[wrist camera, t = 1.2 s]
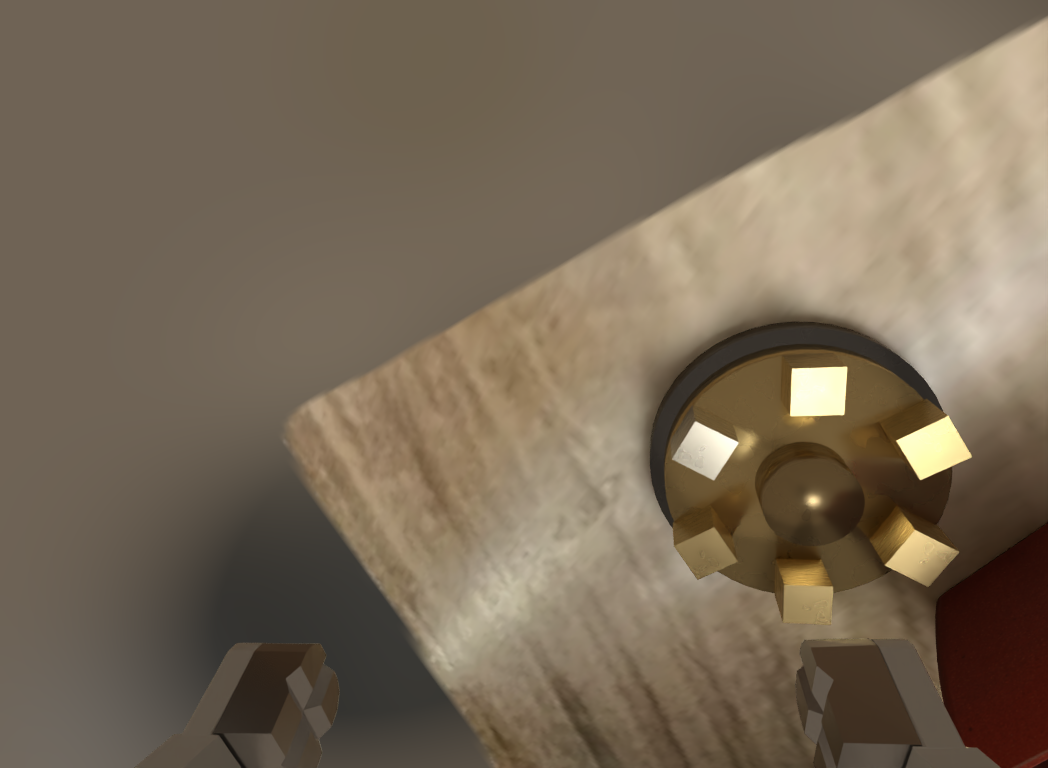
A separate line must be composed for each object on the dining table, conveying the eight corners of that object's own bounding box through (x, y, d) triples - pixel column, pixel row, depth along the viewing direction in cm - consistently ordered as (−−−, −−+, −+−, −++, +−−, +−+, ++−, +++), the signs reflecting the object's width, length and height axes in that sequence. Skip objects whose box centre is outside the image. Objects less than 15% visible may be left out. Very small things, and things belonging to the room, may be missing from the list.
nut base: (1002, 402, 42) (1021, 414, 40) (830, 609, 49) (838, 629, 47) (736, 272, 43) (741, 277, 41) (605, 496, 50) (603, 510, 48)
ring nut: (996, 419, 40) (1046, 454, 35) (834, 612, 47) (856, 666, 42) (746, 297, 41) (760, 315, 36) (621, 506, 48) (618, 546, 42)
